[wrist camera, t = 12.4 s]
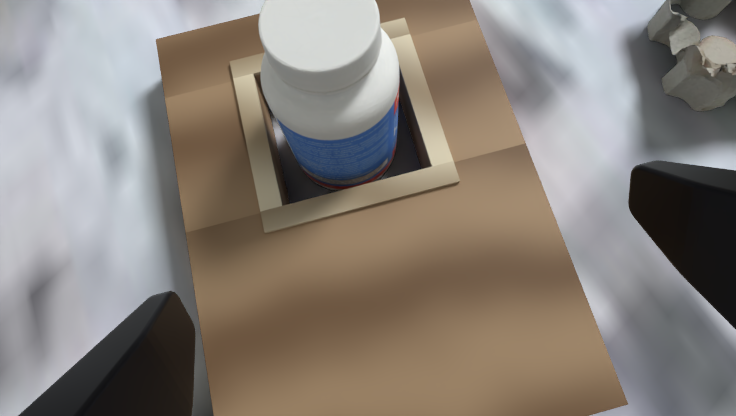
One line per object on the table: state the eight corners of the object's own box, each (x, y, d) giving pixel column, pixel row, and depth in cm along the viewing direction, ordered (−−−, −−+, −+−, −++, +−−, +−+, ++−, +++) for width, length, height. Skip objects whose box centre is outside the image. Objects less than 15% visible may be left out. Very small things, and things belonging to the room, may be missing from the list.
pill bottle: (415, 164, 23) (435, 50, 14) (323, 211, 23) (279, 126, 14) (366, 82, 25) (354, -72, 15) (278, 125, 24) (210, -6, 15)
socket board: (599, 395, 20) (630, 404, 18) (248, 495, 20) (227, 520, 17) (449, -1, 26) (456, -38, 24) (177, 67, 26) (153, 36, 23)
